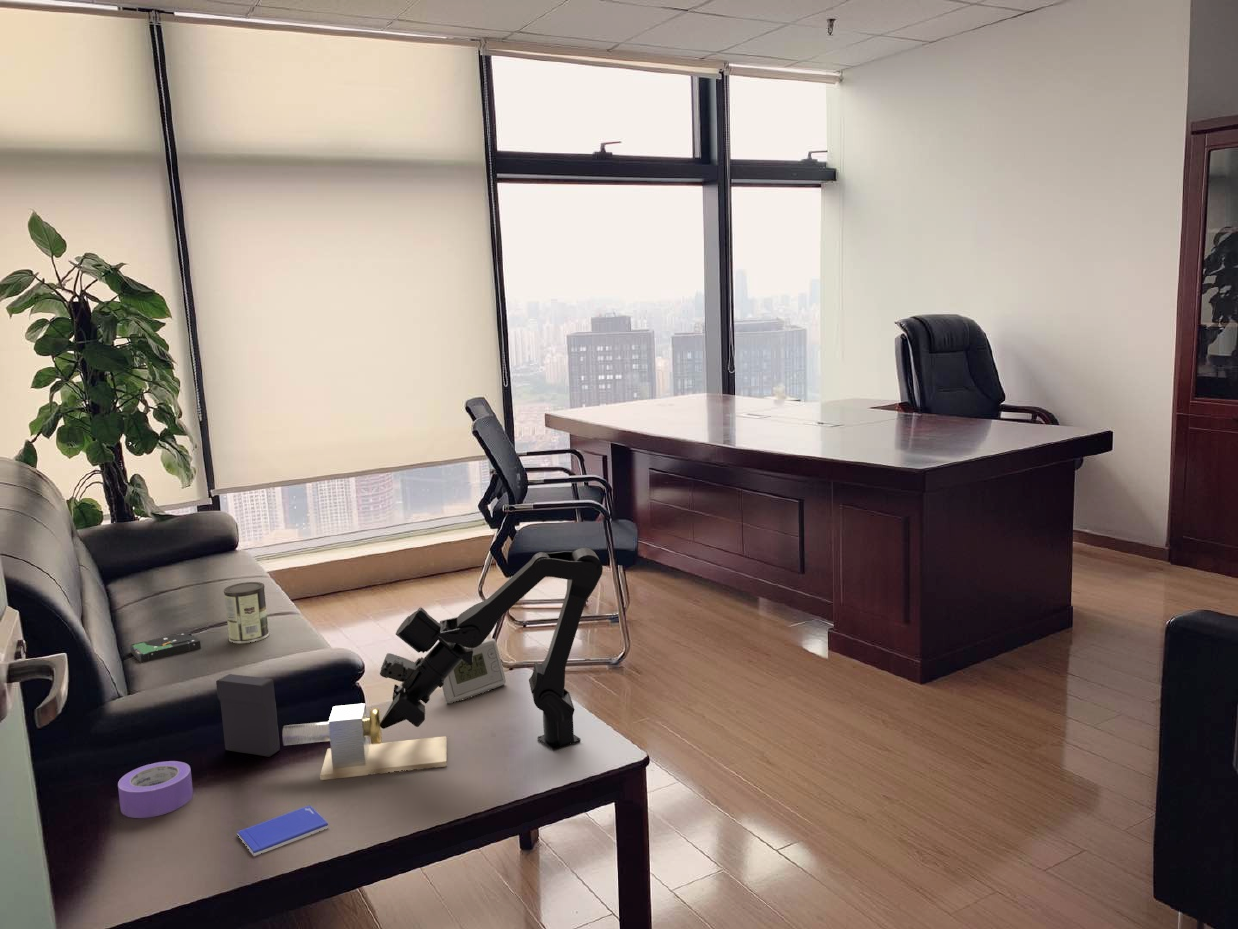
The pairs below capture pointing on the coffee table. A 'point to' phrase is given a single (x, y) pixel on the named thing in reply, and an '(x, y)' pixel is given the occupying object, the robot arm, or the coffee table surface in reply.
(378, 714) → the shaft
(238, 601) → the coffee can
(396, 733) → the coffee table surface
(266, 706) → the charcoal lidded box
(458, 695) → the digital clock
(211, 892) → the coffee table surface
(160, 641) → the disk drive
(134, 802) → the tape roll
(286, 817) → the hard drive
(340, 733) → the bearing block
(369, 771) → the board
